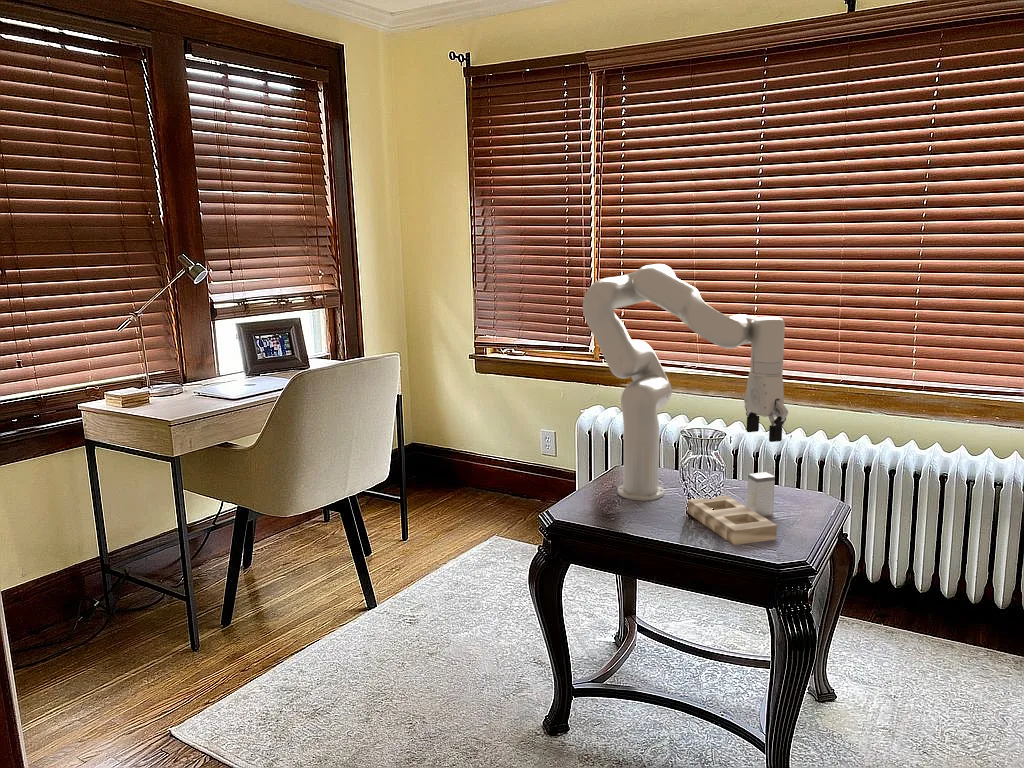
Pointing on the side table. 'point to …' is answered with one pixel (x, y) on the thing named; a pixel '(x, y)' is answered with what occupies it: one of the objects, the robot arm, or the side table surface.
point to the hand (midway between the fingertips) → (763, 436)
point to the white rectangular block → (761, 493)
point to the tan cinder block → (732, 520)
